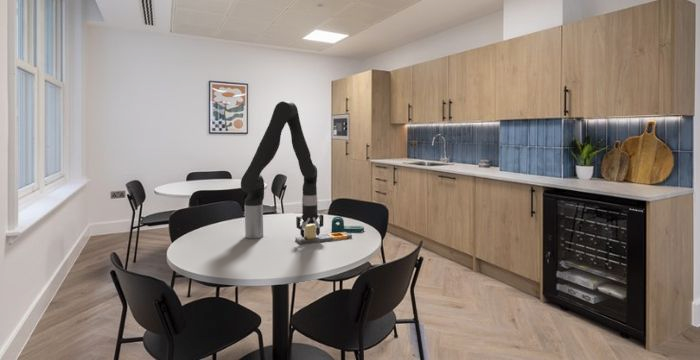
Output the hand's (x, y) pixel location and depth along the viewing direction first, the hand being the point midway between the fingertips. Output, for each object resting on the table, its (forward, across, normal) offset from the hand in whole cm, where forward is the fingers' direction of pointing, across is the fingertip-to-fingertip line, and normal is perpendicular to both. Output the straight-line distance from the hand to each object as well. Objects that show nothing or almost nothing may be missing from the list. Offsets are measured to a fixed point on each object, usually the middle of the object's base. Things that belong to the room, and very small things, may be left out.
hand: (310, 235), depth 199 cm
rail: (+3, -8, 0) cm, 8 cm away
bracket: (+3, -26, -11) cm, 29 cm away
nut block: (+3, 0, 0) cm, 3 cm away
